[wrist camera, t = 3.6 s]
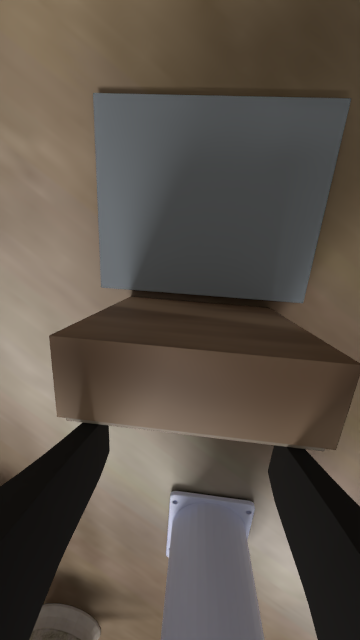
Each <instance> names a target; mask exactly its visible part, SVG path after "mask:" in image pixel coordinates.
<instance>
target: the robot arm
mask: <svg viewBox="0 0 360 640" xmlns="http://www.w3.org/2000/svg"><path fill="white" fill-rule="evenodd" d="M108 454H109V426H108V425H101V424H92V423H84V422H83V423H82V424H80V425H79V426H78V427H77V428H76V429H74V430H73V431H72V432H71V433H70V434H68V435H67V436H66V437H65V438H64V439H62V440H61V441H60V442H59V443H57V444H56V445H55V446H54V447H53V448H51V449H50V450H49V451H48V452H46V453H45V454H44V455H43V456H41V457H40V458H39V459H37V460H36V461H35V462H33V463H32V464H31V465H29V466H28V467H27V468H25V469H24V470H23V471H21V472H20V473H19V474H17V475H16V476H15V477H13V478H12V479H10V480H9V481H8V482H6V483H5V484H3V485H2V486H0V640H29V639H30V637H31V634H32V631H33V629H34V626H35V624H36V621H37V619H38V616H39V613H40V611H41V608H42V606H43V603H44V601H45V598H46V596H47V593H48V591H49V588H50V586H51V583H52V581H53V578H54V576H55V573H56V571H57V568H58V566H59V563H60V561H61V559H62V557H63V554H64V552H65V550H66V548H67V546H68V543H69V541H70V539H71V537H72V535H73V533H74V531H75V529H76V527H77V525H78V523H79V521H80V518H81V516H82V514H83V512H84V510H85V508H86V506H87V504H88V502H89V500H90V498H91V496H92V493H93V491H94V489H95V487H96V485H97V483H98V481H99V479H100V476H101V473H102V471H103V468H104V465H105V463H106V460H107V457H108ZM268 474H269V478H270V483H271V488H272V492H273V496H274V500H275V504H276V507H277V510H278V513H279V516H280V519H281V522H282V525H283V528H284V531H285V534H286V537H287V540H288V543H289V546H290V549H291V552H292V555H293V558H294V561H295V564H296V567H297V570H298V573H299V576H300V579H301V582H302V585H303V588H304V591H305V595H306V598H307V601H308V604H309V608H310V612H311V616H312V619H313V623H314V627H315V631H316V635H317V638H318V640H360V506H359V505H358V504H357V503H356V502H355V501H354V500H353V499H352V498H351V497H350V496H349V495H348V494H347V493H346V492H345V491H344V490H343V489H342V488H341V487H340V486H339V485H338V484H337V483H336V482H335V481H334V480H333V479H332V478H331V477H330V476H329V475H328V473H327V472H326V471H325V470H324V469H323V468H322V467H321V466H320V465H319V464H318V463H317V462H316V461H315V460H314V458H313V457H312V456H311V455H310V454H309V453H308V452H307V451H306V450H305V449H301V448H293V447H284V446H276V445H274V448H273V452H272V456H271V461H270V465H269V469H268ZM254 510H255V507H254V503H253V502H251V501H248V500H240V499H233V498H225V497H218V496H211V495H203V494H196V493H189V492H181V491H172V492H171V495H170V507H169V521H168V534H167V548H166V555H167V557H169V562H168V572H167V582H166V592H165V602H164V612H163V623H162V633H161V640H264V634H263V628H262V623H261V617H260V611H259V605H258V599H257V594H256V588H255V582H254V576H253V571H252V565H251V559H250V553H249V547H248V542H247V540H248V536H249V531H250V527H251V523H252V519H253V514H254Z"/></svg>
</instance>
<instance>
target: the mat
mask: <svg viewBox="0 0 360 640" xmlns="http://www.w3.org/2000/svg"><path fill="white" fill-rule="evenodd" d="M93 101H94V125H95V149H96V174H97V198H98V222H99V246H100V270H101V287H103V288H116V289H129V290H141V291H154V292H167V293H179V294H192V295H205V296H218V297H230V298H243V299H256V300H269V301H281V302H294V303H303V301H304V297H305V293H306V288H307V284H308V280H309V276H310V271H311V267H312V263H313V259H314V254H315V250H316V246H317V242H318V237H319V233H320V229H321V225H322V220H323V216H324V212H325V208H326V203H327V199H328V195H329V191H330V187H331V182H332V178H333V174H334V170H335V165H336V161H337V157H338V153H339V148H340V144H341V140H342V136H343V131H344V127H345V123H346V119H347V114H348V110H349V106H350V102H351V98H305V97H257V96H209V95H161V94H113V93H93Z"/></svg>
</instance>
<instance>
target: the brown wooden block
mask: <svg viewBox="0 0 360 640" xmlns="http://www.w3.org/2000/svg"><path fill="white" fill-rule="evenodd" d="M49 339H50V349H51V359H52V370H53V380H54V390H55V400H56V411H57V417H63V418H66V420H67V421H76V422H84V423H92V424H101V425H109V426H117V427H126V428H134V429H142V430H151V431H159V432H167V433H176V434H184V435H193V436H201V437H209V438H218V439H226V440H234V441H243V442H251V443H259V444H268V445H276V446H284V447H293V448H301V449H309V450H318V451H325V449H332V450H336V448H337V445H338V442H339V439H340V436H341V433H342V429H343V426H344V423H345V420H346V417H347V414H348V411H349V408H350V404H351V401H352V398H353V395H354V392H355V389H356V386H357V382H358V379H359V376H360V363H358V362H357V361H355V360H353V359H352V358H350V357H348V356H347V355H345V354H344V353H342V352H340V351H339V350H337V349H335V348H334V347H332V346H330V345H329V344H327V343H326V342H324V341H322V340H321V339H319V338H317V337H316V336H314V335H313V334H311V333H309V332H308V331H306V330H304V329H303V328H301V327H299V326H298V325H296V324H295V323H293V322H291V321H290V320H288V319H286V318H285V317H283V316H281V315H280V314H278V313H277V312H275V311H273V310H272V309H270V308H267V307H255V306H242V305H230V304H218V303H205V302H193V301H180V300H168V299H155V298H143V297H129V298H127V299H125V300H123V301H121V302H119V303H116V304H114V305H112V306H110V307H108V308H106V309H104V310H102V311H100V312H98V313H96V314H93V315H91V316H89V317H87V318H85V319H83V320H81V321H79V322H77V323H75V324H73V325H70V326H68V327H66V328H64V329H62V330H60V331H58V332H56V333H54V334H52V335H50V336H49Z"/></svg>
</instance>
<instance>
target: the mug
mask: <svg viewBox="0 0 360 640" xmlns="http://www.w3.org/2000/svg"><path fill="white" fill-rule="evenodd" d="M100 633H101V628H100V626H99V624H98V622H97V621H96V620H95V619H94V618H93V617H92V616H90V615H89V614H87V613H86V612H84V611H82V610H80V609H78V608H75V607H73V606H69V605H64V604H56V603H49V604H45V605H43V606H42V608H41V611H40V613H39V616H38V619H37V621H36V624H35V626H34V629H33V631H32V634H31V637H30V639H29V640H98V639H99V637H100Z"/></svg>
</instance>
